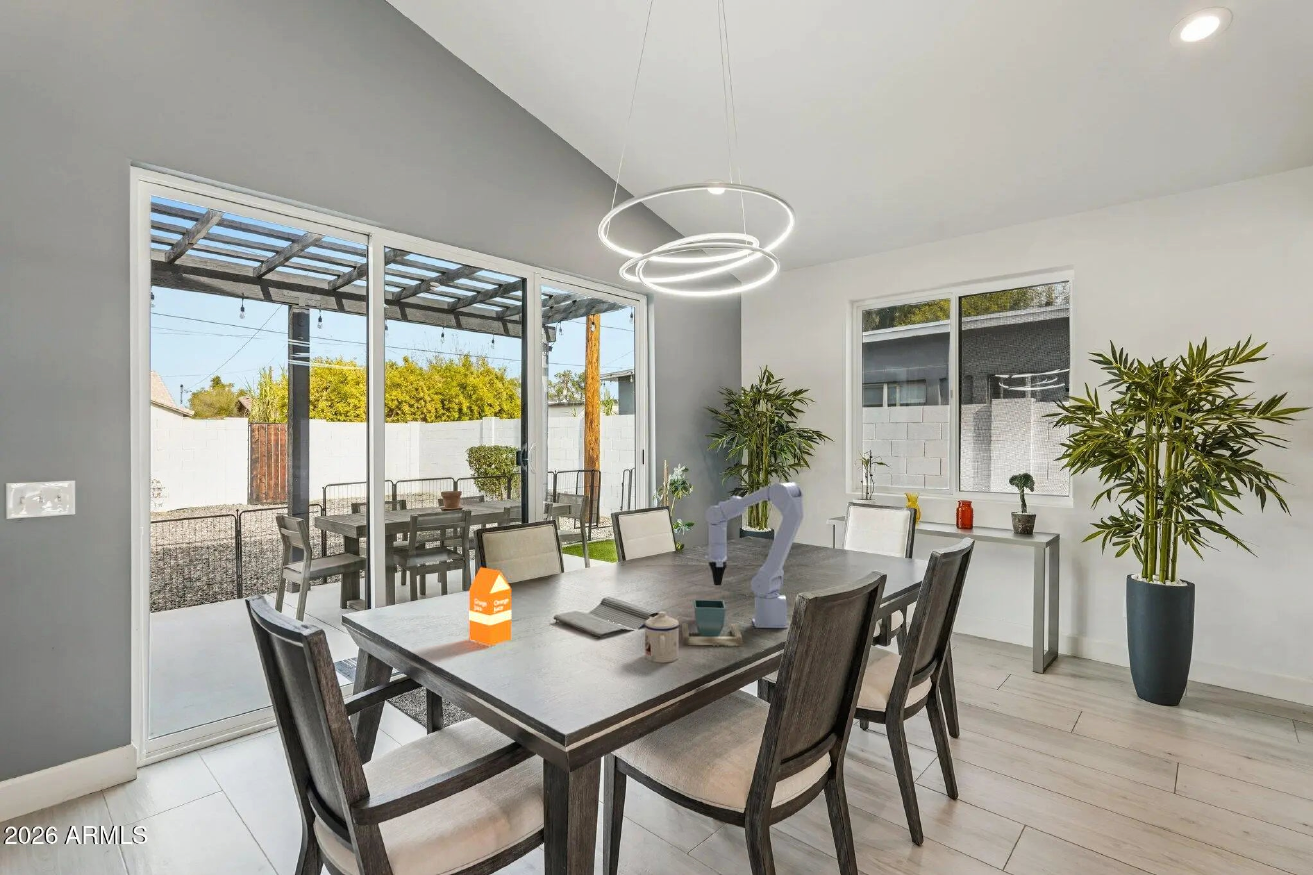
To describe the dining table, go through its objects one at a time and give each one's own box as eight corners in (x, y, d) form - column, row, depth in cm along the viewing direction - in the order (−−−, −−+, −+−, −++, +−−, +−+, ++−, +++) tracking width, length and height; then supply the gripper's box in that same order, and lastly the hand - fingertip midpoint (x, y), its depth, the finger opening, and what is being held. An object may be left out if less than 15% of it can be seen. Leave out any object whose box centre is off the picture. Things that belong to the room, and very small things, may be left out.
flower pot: (723, 630, 183) (723, 599, 183) (725, 639, 174) (725, 607, 174) (693, 629, 183) (693, 599, 183) (694, 639, 174) (694, 607, 174)
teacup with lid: (644, 651, 165) (644, 607, 165) (678, 651, 165) (678, 607, 165) (643, 667, 153) (643, 620, 153) (680, 667, 153) (680, 620, 153)
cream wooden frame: (736, 630, 183) (736, 623, 183) (742, 645, 169) (742, 638, 169) (682, 630, 183) (682, 623, 183) (683, 645, 169) (683, 638, 169)
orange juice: (491, 634, 179) (491, 565, 179) (511, 639, 174) (511, 568, 174) (468, 641, 172) (468, 569, 172) (489, 647, 167) (489, 573, 167)
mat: (552, 624, 190) (552, 609, 190) (611, 609, 206) (611, 595, 206) (599, 642, 173) (599, 625, 173) (660, 625, 190) (660, 609, 190)
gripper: (703, 539, 207) (703, 579, 207) (706, 546, 192) (706, 590, 192) (724, 539, 207) (724, 579, 207) (729, 546, 192) (729, 590, 192)
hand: (717, 584), depth 200 cm, fingers closed
